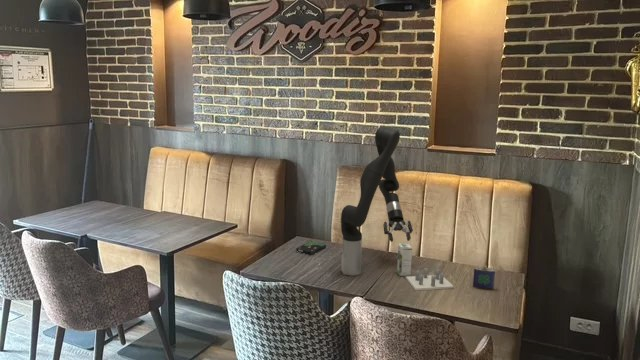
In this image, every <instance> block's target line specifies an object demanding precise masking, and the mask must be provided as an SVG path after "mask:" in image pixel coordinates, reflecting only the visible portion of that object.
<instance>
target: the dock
mask: <svg viewBox="0 0 640 360" xmlns="http://www.w3.org/2000/svg"><path fill="white" fill-rule="evenodd" d="M440 271H441V270H440V269H439V268H435V275H434V274H430V275H428V272H429V268H428V267H424V268H423V274H422V273H420V270H419V269H417V270H416V269H415V275H414V276H413V275H411V276H405V280H407V282H408V283H409V285H410V286H411V287H412V288H413V289H414V290H415V291H432V290H433V291H435V290H447V289H448V290H452V289H454V286H453V284H452V283H451V282H450V281H449V280H447V278H446V277H444V276H445V273H443V272H440Z"/></svg>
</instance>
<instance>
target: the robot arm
mask: <svg viewBox="0 0 640 360" xmlns="http://www.w3.org/2000/svg"><path fill="white" fill-rule="evenodd" d="M400 139H401V133H400V131H399V130H396V129H393V128H389V127H385V126H380V127H378V128H377V130H376V132H375V134H374V141H375V142H374V143H375V146H376V149H377V153H378V157H376V158H375V159H373V160H372V161H370V162H369V163H368V164H367V165H366V166H365V167H364V170H363V172H362V175H361V176H360V183H359V185H360V199H359V201H358V204H357V205H356V206H354V205H351V204H347V205H345V206H344V207H343V209H342V211H341V213H340V226H341V228H340V229H341V234H342V251H341V257H340V259H341V263H340V264H341V265H340V266H341V268H340V271H341V273H342V274H343V275H345V276H351V277H352V276H358V275H359V276H360V274H361V273H362V250H363V249H362V247H363V233H362V232H361V231H360V230H359V228H360V227H362V226H363V225H364V223H365V222H366V219H367V217H368V215H369V211H370V208H371V205H372V203H373V199H374V197H375V195H376V193H377V192H376V191H377V190H378V188H379V191H380V192H381V194H382V195H383V197H384V201H385V206H386V214H387V219H388V222H387V221H384V222H383V226H382V227H383V233H384V235H388V238H389V241H390V242H394V237H393V232H394V231H396V232H397V231H399V232H401V231H402V233H405V234H406V237H405V238H406V240H407V242H410V240H411V234H412V233H413V231H414V229H413V226H412V222H411V221H410V220H408V221H405V220H404V214H403V209H402V206H401V204H400V199H399V195H398V194H397V191H398V190H399V189H400V183H399V181H398V178H397V175H396V165H395V161H394V159H393V157H392V156H393V154H394V152H395V149H396V148H397V146H398V144H399V142H400ZM382 178H383V179H382ZM395 192H396V193H395ZM388 226H389V227H390V230H388Z"/></svg>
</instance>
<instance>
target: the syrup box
mask: <svg viewBox="0 0 640 360" xmlns="http://www.w3.org/2000/svg"><path fill="white" fill-rule="evenodd" d="M397 249H398V250H397V251H398V252H397V262H396V263H397V264H396V265H397V266H396V273H397V274H398V275H399V277H408V276H412V259H413V258H412V256H413V247H412V245H411V244H409V243H398V248H397Z"/></svg>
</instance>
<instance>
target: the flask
mask: <svg viewBox="0 0 640 360" xmlns="http://www.w3.org/2000/svg"><path fill="white" fill-rule="evenodd" d="M487 267H488V265H484V266H483V267H480V266H478V267H474V269H473V282H472V287H473V288H475V289H480V290H491V291H492V290H494V288H495V278H496V270H495V269H489V268H487Z"/></svg>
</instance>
